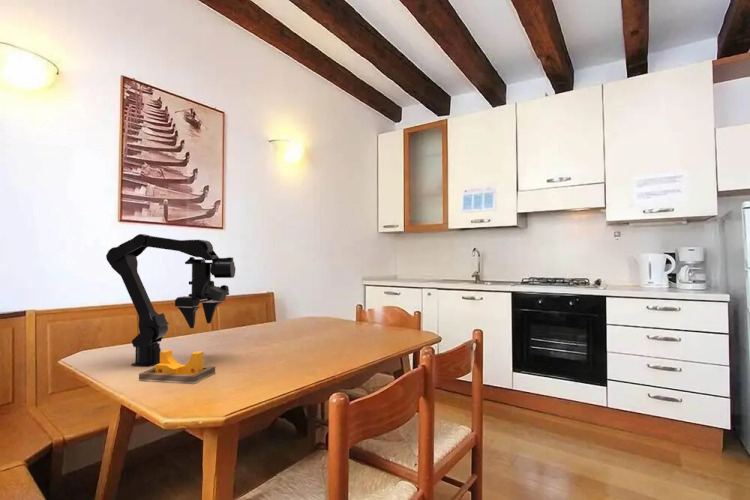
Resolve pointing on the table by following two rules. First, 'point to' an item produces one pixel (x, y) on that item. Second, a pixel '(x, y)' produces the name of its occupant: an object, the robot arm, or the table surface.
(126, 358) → the table surface
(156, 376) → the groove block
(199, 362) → the pipe clamp
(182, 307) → the robot arm
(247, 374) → the table surface
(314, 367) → the table surface
